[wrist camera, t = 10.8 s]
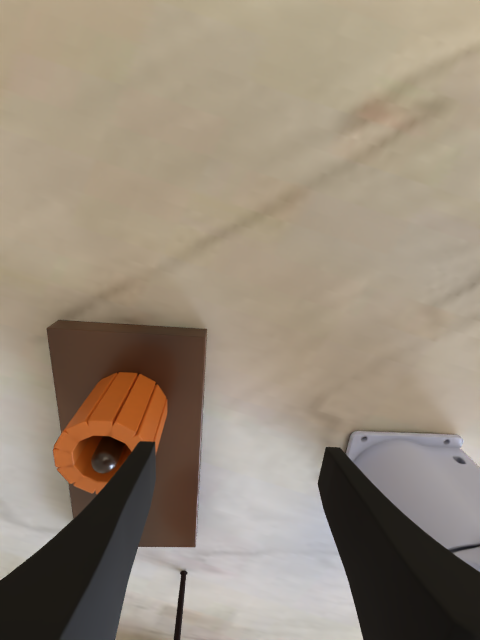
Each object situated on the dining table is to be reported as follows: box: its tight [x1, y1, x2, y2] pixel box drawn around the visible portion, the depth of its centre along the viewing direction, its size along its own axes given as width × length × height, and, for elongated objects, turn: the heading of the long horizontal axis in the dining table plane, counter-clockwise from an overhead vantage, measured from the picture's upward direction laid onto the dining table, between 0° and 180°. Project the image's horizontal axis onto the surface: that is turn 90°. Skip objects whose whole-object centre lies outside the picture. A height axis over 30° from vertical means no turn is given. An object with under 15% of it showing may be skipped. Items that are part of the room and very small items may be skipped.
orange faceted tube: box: [53, 372, 167, 494], centre depth 19 cm, size 5×5×5 cm
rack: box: [47, 320, 207, 547], centre depth 21 cm, size 10×20×7 cm, turn 175°
